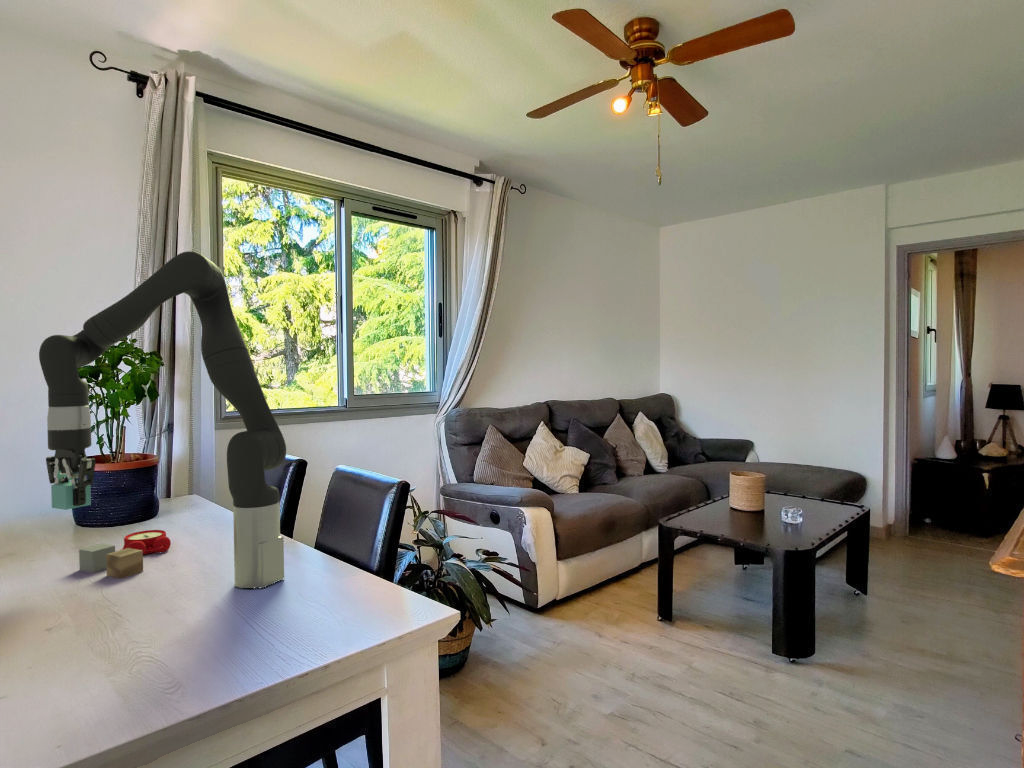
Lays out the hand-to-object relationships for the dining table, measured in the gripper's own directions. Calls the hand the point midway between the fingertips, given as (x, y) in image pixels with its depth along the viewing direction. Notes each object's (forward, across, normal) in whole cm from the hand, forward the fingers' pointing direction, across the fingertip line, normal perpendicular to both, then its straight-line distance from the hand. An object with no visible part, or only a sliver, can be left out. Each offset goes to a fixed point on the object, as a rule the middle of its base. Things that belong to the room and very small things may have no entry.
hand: (71, 503), depth 124 cm
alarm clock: (+18, +7, -21) cm, 28 cm away
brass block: (+17, -5, -8) cm, 20 cm away
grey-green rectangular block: (+17, +5, -8) cm, 20 cm away
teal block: (0, 0, 0) cm, 0 cm away
